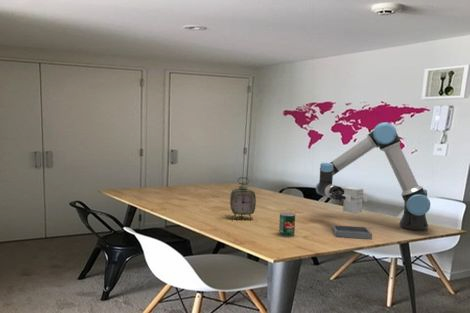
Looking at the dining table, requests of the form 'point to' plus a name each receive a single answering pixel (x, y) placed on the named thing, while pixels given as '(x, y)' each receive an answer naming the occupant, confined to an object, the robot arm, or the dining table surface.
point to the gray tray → (351, 232)
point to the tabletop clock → (242, 200)
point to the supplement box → (353, 200)
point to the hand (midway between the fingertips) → (358, 199)
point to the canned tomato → (287, 224)
